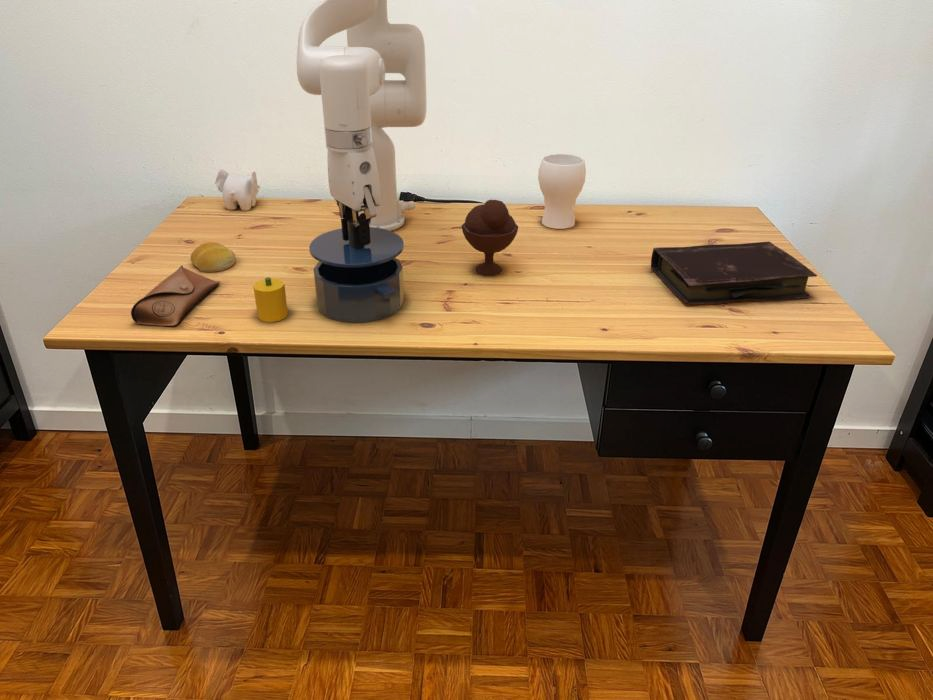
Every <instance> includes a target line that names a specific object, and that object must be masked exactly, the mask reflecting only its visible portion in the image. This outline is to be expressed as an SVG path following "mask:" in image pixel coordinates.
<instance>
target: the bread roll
mask: <svg viewBox="0 0 933 700" xmlns="http://www.w3.org/2000/svg"><path fill="white" fill-rule="evenodd" d="M190 261H191V263H192V265H194V267H196V268H197V269H198V270H199V271H201V272H207V273H209V272H220V271H223V270H227V269H229V268H230V267H232V266H233V265H234V263H236V254H235V252H234V251H233V250H232V249H229V248H228V247H226V245H224V244H222V243H220V242H213V241H211V242H204V243H201V244H200V245H198V246H197V247H195V249H194V250H193V251H192V252H191V254H190Z"/></svg>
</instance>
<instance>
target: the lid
mask: <svg viewBox="0 0 933 700" xmlns="http://www.w3.org/2000/svg"><path fill="white" fill-rule="evenodd" d="M352 225H354V222H353V218H350V219H348V220H347V228H348V240H347V241H345V240H343V236H342V227H341V228H337V229H333V230H330V231H327V232H323V233H322V234H319V235H318V236H316V237H315V238H314V239H312V241H311V242H310V243H309V246H308V250H309V251H308V252H309V254H310V256H311V257H312V258H313V259H314V260H316V261H317V262H322V263H324V264H328V265H332V266H338V267H366V266H373V265H377V264H381V263H384V262H387V261H390V260H392V259H394V258H397V257H398V256H400V255H401V254H402V253H403V251H404V248H405V241H404V239H403V238H402V236H400V235H399V234H398V233H396V232H394V231H393V230H392V231H389V230H385V229H381V228H375V227H370V241H371V242H370V244H368V245H364V246H361V247H357V248H356V247H354V246H353V237H352Z"/></svg>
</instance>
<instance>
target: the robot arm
mask: <svg viewBox="0 0 933 700" xmlns="http://www.w3.org/2000/svg"><path fill="white" fill-rule="evenodd" d="M343 31H346V42H347V45H346V46H331V45H330V46H326V45H325V46H324V45H323V46H321V45H322V44H323V43H324V42H325V41H326V40H328V39H329V38H331V37H332V36H334V35H336V34H338V33H341V32H343ZM426 69H427V68H426V46H425V40H424V36H423V33H422V31H421V29H420V28H419V27H418V26H416V25H414V24H411V23H390V22H389V19H388V0H319V1H318V2H316V3H315V5H313V7H312V8H311V9H310V10H309V12H308V13H307V14H306V15H305V17H304V19H303V21H302V22H301V25H300V27H299V32H298V37H297V50H296V75H297V81H298V83H299V85H300V87H301V89H302V90H303V91H304V92H306V93H307V94H310V95H314V96H321V105H322V106H321V107H322V116H323V126H324V127H323V129H324V136H325V137H324V138H325V148H326V149H327V180H328V189H329V193H330V196H331V197H332V198H333V199H334V200H335V202H336V205H337V208H338V215H339V217H340V221H341V222H340V223H341V228H342V236H343V240H345V241H347V240H348V228H347V220H348V219H350V218H353V222H354V225H352V237H353V246H354V247H356V248H357V247H361V246H364V245H368V244H370V242H371V241H370V227H375V228H381V229H385V230H389V231H392V232H393V231H395V230H398V229H400V228H401V227H403V226H404V224H405V216H404V215H403V213H405V211H411V210H415V209H416V203H415V202H414V200H410V201H406V202H405V201H404V200H398V190H397V188H398V187H397V169H396V167H397V166H396V149H395V144H394V142H393V140H392V139H391V138H390V135H388V134H387V132H386V131H385V130H384V128H415V127H419V126H422V125H423V124H424V123H425V120H426V117H427V70H426ZM386 74H400V75H402V76H403V77H404V79H397V80H396V79H395V80H394V79H386Z"/></svg>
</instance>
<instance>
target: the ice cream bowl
mask: <svg viewBox="0 0 933 700" xmlns="http://www.w3.org/2000/svg"><path fill="white" fill-rule="evenodd" d="M509 212H510V211H509V209H508V206H507V205H506V204H505V203H504V202H503V201H502V200H498V199H489V200H487V201H485V202H484V203H483V204H479V205H476V206H474V207H473V208H472V209H471V210H470V211H469V212H468V213H467V215H466V216H465V220H464V222H463V224H462V225H461V230H462V234H463V236H464V239H465V240H466V241H467V242H468V244H470V246H471V247H472V248H473V249H474V250H476V251H478V252H480V253H483V254H484V261H483V262H481V263H479V264H478V265H476V266H475V269H474V271H475V272H476V274H477V275H480V276H483V277H496V276H499V275H501V274H502V272H503V271H504V270H503V268H502V267H501V265H500V264H499V263H496V262H494V256H495V254H496V253H500V252H502V251H503V250H504V251H505V249H506V248H508V247H509V246H510V245H511V244H512V242H513V241H514V240H515V238H516V237H517V233H518V231H519V226H518V224H517V223H516V221H515V219H514V217H513V216H512V215H510V213H509Z"/></svg>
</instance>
